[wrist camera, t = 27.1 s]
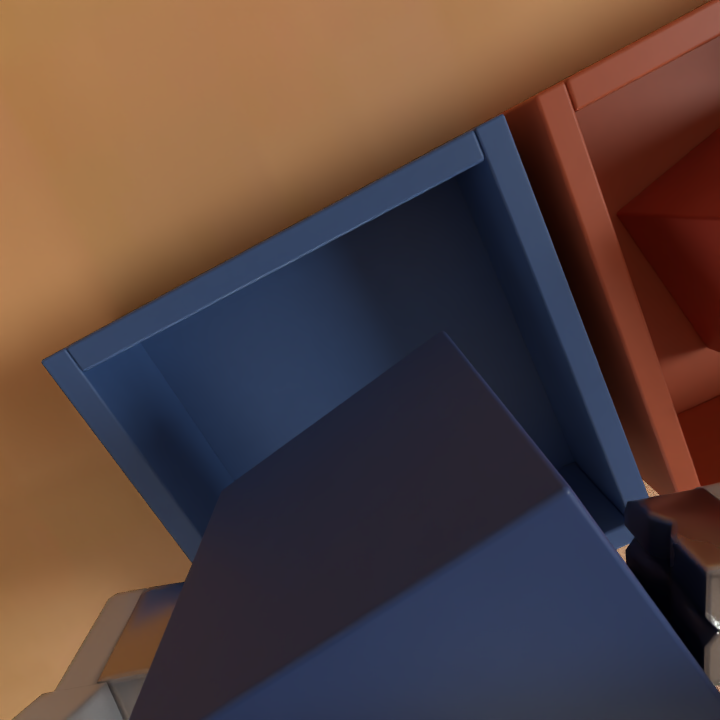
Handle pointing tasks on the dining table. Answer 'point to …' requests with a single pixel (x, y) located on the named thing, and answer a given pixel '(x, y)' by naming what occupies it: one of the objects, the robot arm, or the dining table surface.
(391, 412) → the blue block
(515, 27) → the dining table surface
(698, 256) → the red block
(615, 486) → the blue bin
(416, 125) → the dining table surface
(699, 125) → the terracotta bin
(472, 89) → the dining table surface
